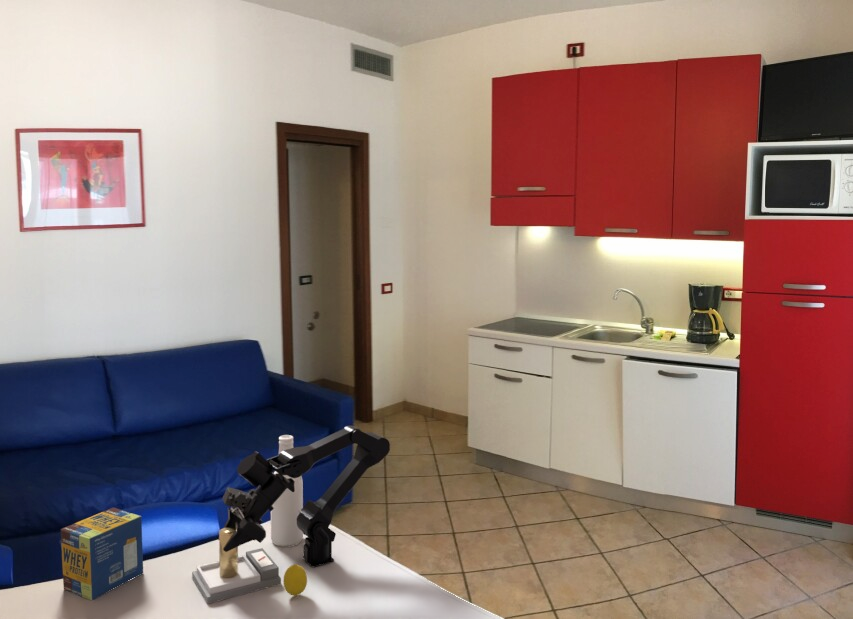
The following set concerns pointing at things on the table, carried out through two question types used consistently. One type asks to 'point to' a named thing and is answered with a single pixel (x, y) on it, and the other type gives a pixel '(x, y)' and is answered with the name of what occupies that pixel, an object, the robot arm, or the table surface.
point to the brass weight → (227, 555)
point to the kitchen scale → (237, 577)
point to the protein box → (101, 552)
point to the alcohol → (287, 507)
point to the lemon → (295, 580)
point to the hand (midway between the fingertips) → (221, 545)
